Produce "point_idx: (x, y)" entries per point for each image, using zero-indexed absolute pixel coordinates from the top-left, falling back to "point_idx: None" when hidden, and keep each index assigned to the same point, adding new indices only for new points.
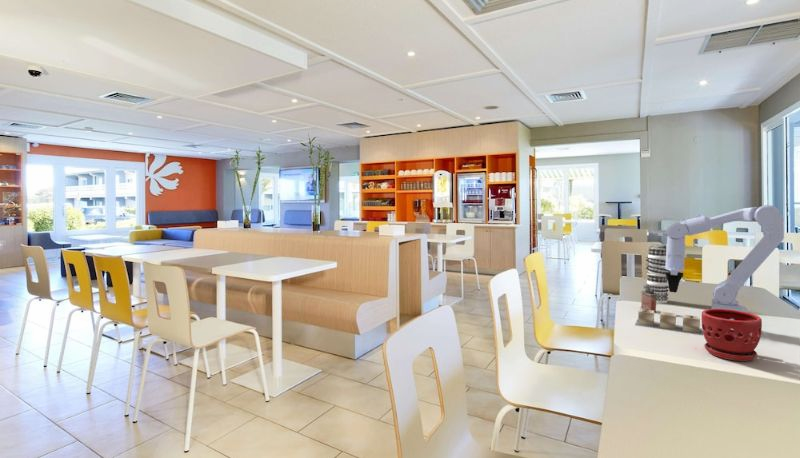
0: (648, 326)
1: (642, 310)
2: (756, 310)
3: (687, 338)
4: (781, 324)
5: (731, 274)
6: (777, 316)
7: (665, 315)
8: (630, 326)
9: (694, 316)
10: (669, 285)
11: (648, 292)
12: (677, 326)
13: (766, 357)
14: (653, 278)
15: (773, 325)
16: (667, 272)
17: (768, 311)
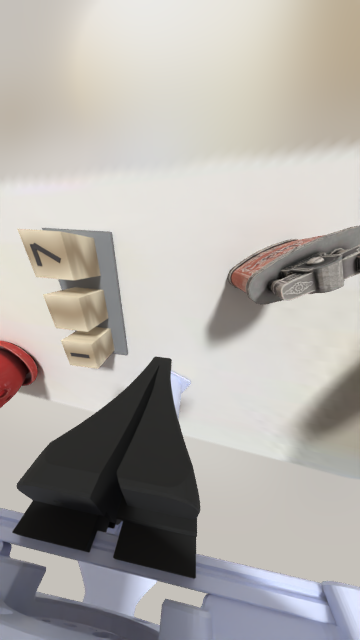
0: None
1: (43, 242)
2: (337, 448)
3: (49, 326)
4: (235, 441)
5: (84, 599)
6: (292, 453)
7: (49, 306)
8: (34, 216)
9: (90, 361)
10: (138, 379)
11: (291, 266)
12: (110, 320)
13: (49, 387)
14: None
15: (224, 434)
16: (77, 502)
17: (331, 456)
